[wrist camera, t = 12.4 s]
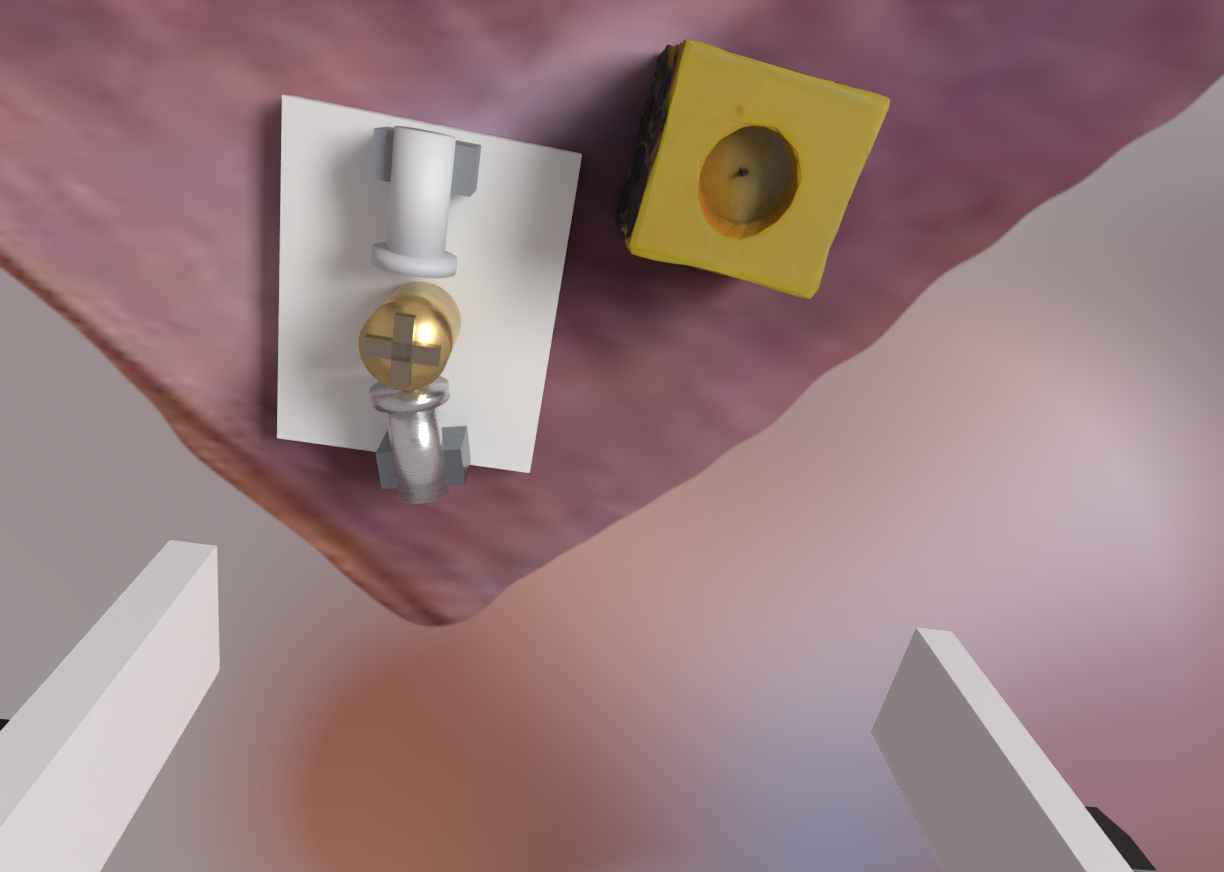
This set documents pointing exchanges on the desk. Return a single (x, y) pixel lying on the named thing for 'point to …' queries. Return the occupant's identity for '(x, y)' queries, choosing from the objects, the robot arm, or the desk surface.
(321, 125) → the shaft base
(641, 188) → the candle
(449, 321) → the coupler
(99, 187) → the desk surface
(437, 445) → the shaft out
